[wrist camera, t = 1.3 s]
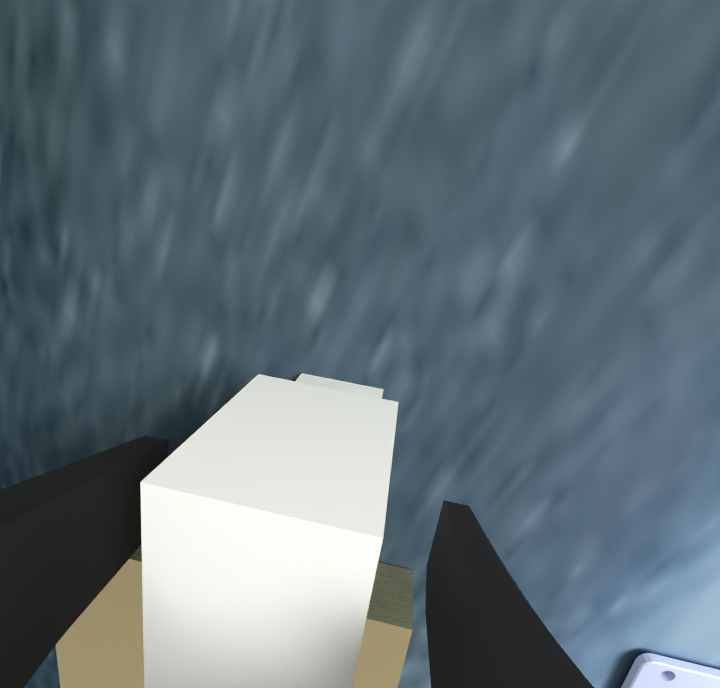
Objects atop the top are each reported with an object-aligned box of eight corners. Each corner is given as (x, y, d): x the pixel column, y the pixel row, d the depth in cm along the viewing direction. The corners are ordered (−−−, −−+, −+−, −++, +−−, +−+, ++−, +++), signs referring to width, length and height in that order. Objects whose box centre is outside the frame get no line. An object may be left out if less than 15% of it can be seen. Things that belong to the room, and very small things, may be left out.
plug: (402, 366, 14) (383, 538, 6) (379, 486, 15) (339, 747, 8) (290, 344, 14) (140, 482, 6) (278, 464, 16) (144, 692, 8)
